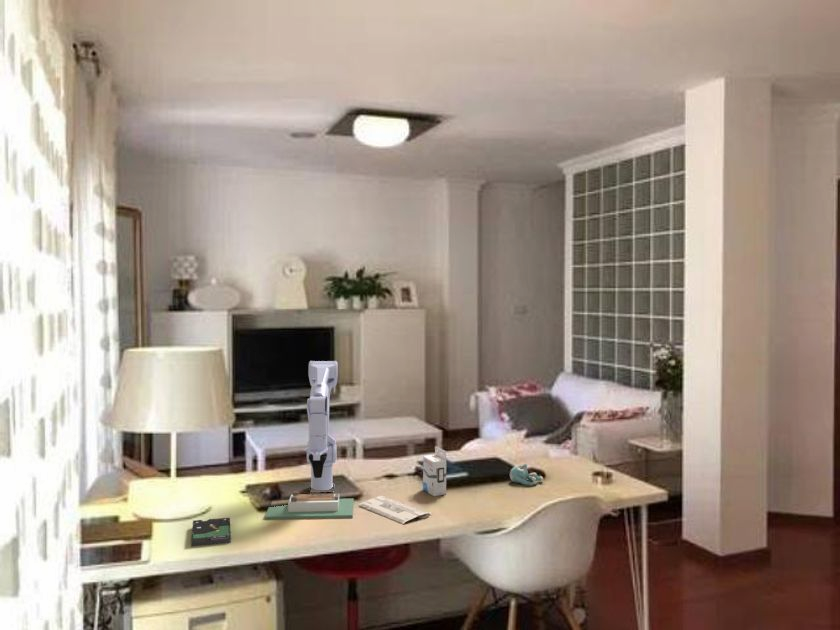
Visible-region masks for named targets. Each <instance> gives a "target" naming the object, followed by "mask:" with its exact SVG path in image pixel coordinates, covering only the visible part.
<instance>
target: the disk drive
mask: <svg viewBox="0 0 840 630" xmlns="http://www.w3.org/2000/svg"><path fill="white" fill-rule="evenodd" d="M191 528H192V529H191V538H190V543H191V548H192V547H193V548H194V547H202V546H213V545H214V546H215V545H221V544H222V545H223V544H231V540H232V539H231V538H232V536H231V535H232V534H231V533H232V532H231V518H230V517H219V518H209V519H207V520H202V519H197V520H196V519H195V520H192V527H191Z"/></svg>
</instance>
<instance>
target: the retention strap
mask: <svg viewBox="0 0 840 630" xmlns="http://www.w3.org/2000/svg"><path fill="white" fill-rule="evenodd" d="M334 494H335V493H309V494H306V493H304V494H300V493H298V494H296V495H295V497H297V500H334Z"/></svg>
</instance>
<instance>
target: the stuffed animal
mask: <svg viewBox="0 0 840 630" xmlns="http://www.w3.org/2000/svg"><path fill="white" fill-rule="evenodd" d="M527 467H528V464H527V463H524V464H522V465H519V466H517V465H514V466H513V467H512V468H511V469H510V471H509V478H510V480H511V481H512V482H514V483H515V484H522V486H527V487H528V486H530V487H531V486H534V485H536V484H537V482H542V483H543V482H544V480H545V479H544V477H543V476H541V475H538V474H537V473H536V472H530V473H529V472H528V469H527Z"/></svg>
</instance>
